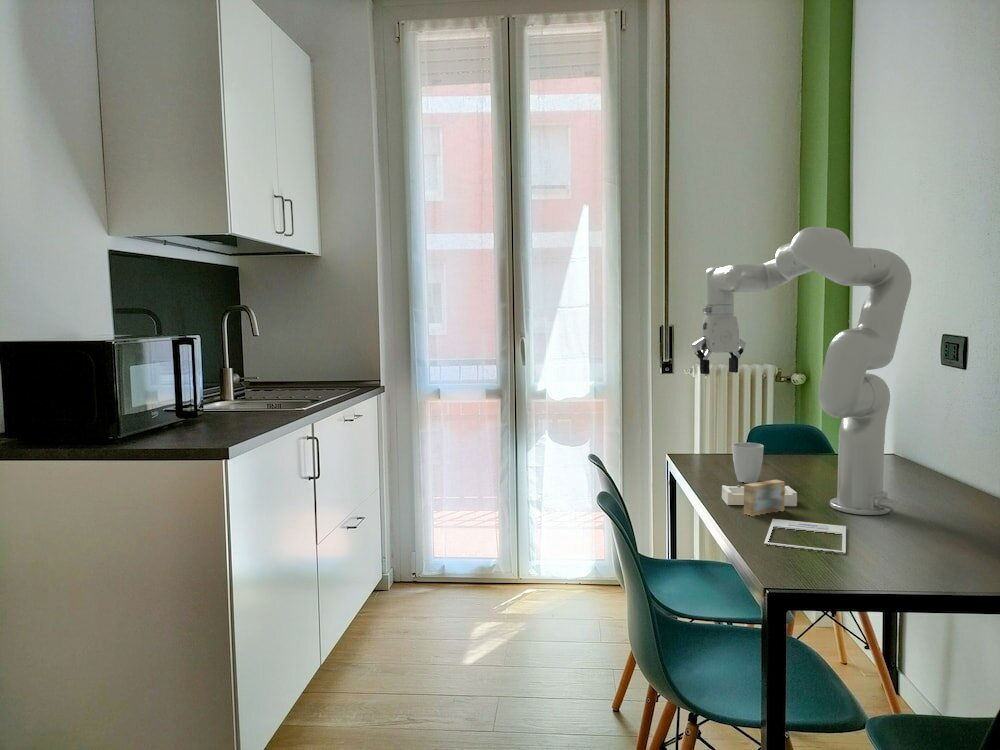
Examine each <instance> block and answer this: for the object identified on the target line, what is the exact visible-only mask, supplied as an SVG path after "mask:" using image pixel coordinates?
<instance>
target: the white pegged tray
mask: <svg viewBox="0 0 1000 750" xmlns="http://www.w3.org/2000/svg"><path fill="white" fill-rule="evenodd" d="M721 499H722V500H723V501H724V503H725V504H726V505H727V506H728V505H744V485H742V486H741V485H740V484H737V485H735V486H728V485H723V484H722V485H721ZM797 506H798V492H797V491H795V490H794V489H793V488H791V487H790V486H789V485H785V494H784V507H797Z"/></svg>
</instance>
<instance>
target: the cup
mask: <svg viewBox="0 0 1000 750" xmlns="http://www.w3.org/2000/svg"><path fill="white" fill-rule="evenodd" d="M764 448H765V446H764V445H763V444H761V443H757V442H734V443H732V460H733V467H734V472H735V476H736V478H737V482H740V483H742V482H744V483H743V484H750V483H757V482H759V478H760V476H761V471H762V466H763V461H764V460H763V459H764V450H765V449H764Z"/></svg>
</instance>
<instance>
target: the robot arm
mask: <svg viewBox="0 0 1000 750" xmlns="http://www.w3.org/2000/svg"><path fill="white" fill-rule="evenodd" d="M813 271H814V272H815V273H817V274H819V275H821V276H823V277H824V278H825V279H828V280H830V281H832V282H834V283H835V284H838V285H841V286H846V287H869V288H870V292H869V294H868V295H867V296H866V298H865V300H864V302H863V304H862V307H861V309H860V314H859V319H858V321H857V325H856V327H855V328H847V329H844V330H841V331H839V332H838V333H837V334H836V335H835V336H834V337H833V338H832V340H831V341H830V342H829V345H828V348H827V351H826V354H825V357H824V358H825V360H824V362H823V363H824V364H823V367H822V368H823V369H822V372H821V376H820V377H821V378H820V382H819V386H818V393H817V394H818V396H817V397H818V402H819V406H820V407H821V409H822V411H823V412H824V413H825V414H827V415H828V416H830V417H832V418H834V419H835V418H836V419H841V420H840V424H839V429H838V445H837V446H838V447H837V448H838V451H837V488H836V489H837V491H836V492H837V493H836V495H837V496H836V497H834V498H831V499H830V500H829V506H830V507H831V508H832V509H833V510H836V511H839V512H843V513H847V514H854V515H862V516H880V515H886V514H889V513H890V512H891V510H893V511H896V510H897V509H898V506H899V500H898V499H893V498H889V494H888V493H889V492H888V491H885V490H884V474H885V473H884V471H885V469H884V467H885V443H886V441H885V440H886V426H887V425H886V424H887V418H888V412H889V407H890V403H891V393H890V392H891V391H890V388H889V385H888V384H887V382H886V381H885V380H884V379H882V377H880V376H878V375H876V374H872V373H867V371H871V370H878V369H881V368H885V367H887V366H888V365H890V363H891V362H892V361H893V359H894V355H895V352H896V347H897V345H898V341H899V335H900V333H901V332H900V331H901V329H902V323H903V319H904V316H905V315H904V314H905V311H906V306H907V304H908V300H909V297H910V293H911V289H912V274H911V271H910V268H909V266H908V265H907V263H906V262H905V260H904V259H903V258H902V257H900V256H899V255H898V254H896V253H894V252H892V251H890V250H886V249H882V248H875V247H874V248H873V247H856V246H852V245H851V242H850V239H849V237H848V236H847V234H846V233H844V232H843V231H842V230H841V229H837V228H833V227H824V226H821V227H820V226H807V227H805V228H803V229H801V230H800V231H798V232H797V233H796V234H795V235H794V236H793V238H792V240H791V242H788V243H786V244H782V245H781V246H779V247H778V248H777V250H776V252H775V257H774V259H771V260H769V261H765V262H763V263H760V264H754V263H733V264H730V265H725V266H713V267H709V268H707V269H706V271H705V307H703V308H702V313H705V315H704V316H703V320H702V324H701V332H700V335H701V336H700V339H698V340H697V341H694V342H693V343H692V345H691V346H692V349H693V351H694V354H695V355H696V356H697V359H698V360H699V369H700V370H699V371H700V374H702V375H709V374H710V359H708V358H709V357H710V356H711V354H713V353H714V354H717V353H718V354H719V353H727V354H728V355H729V356H730V357H729V358H728V372H729V373H734V374H736V373H738V372H739V359H740V358H741V356H742V354H743V353H744V349H745V347H746V345H747V342H746V341H744V340H743V339H741V338H740V332H739V331H740V330H739V322H738V318H737V316H734V315H735V314H734V313H735V312H734V311H735V310H734V309H735V307H734V306H735V305H734V304H735V300H734V299H735V293H761V292H765V291H769V290H772V289H775V288H778V287H781V286H783V285H785V284H788V282H790V281H792V280H793V279H794V278H795V277H799V276H802V275H804V274H808V273H810V272H813Z"/></svg>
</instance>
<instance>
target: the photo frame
mask: <svg viewBox="0 0 1000 750" xmlns="http://www.w3.org/2000/svg"><path fill="white" fill-rule="evenodd" d="M773 527H777V528H776V529H778V528H785V529H784V530H787V529H795V530H794V531H796V530H806V531H814V532H813V533H815V532H827V533H835V534H842V535H841V536H842V538H841V539H842V541H841V550H838V549H830V548H829V549H828V548H822V547H811V546H803V545H795V544H784V543H778V542H777V543H776V542H770V540H771V537H770V536H772V534H771V533H773V531H774V528H773ZM772 530H773V531H772ZM806 531H805V532H806ZM769 539H770V540H769ZM768 541H769V542H768ZM764 544H768V545H769V544H770V545H777V546H785V547H794V548H804V549H813V550H823V551H834V552H843V553H847V552H846V548H847V526H846V525H839V524H830V523H829V524H826V523H818V522H817V523H816V522H809V521H799V520H798V521H797V520H788V519H779V518H777V519H776V518H772V519H771V523H770V525H769V528H768V531H767V534H766V537H765V539H764V542H763V545H764Z"/></svg>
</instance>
